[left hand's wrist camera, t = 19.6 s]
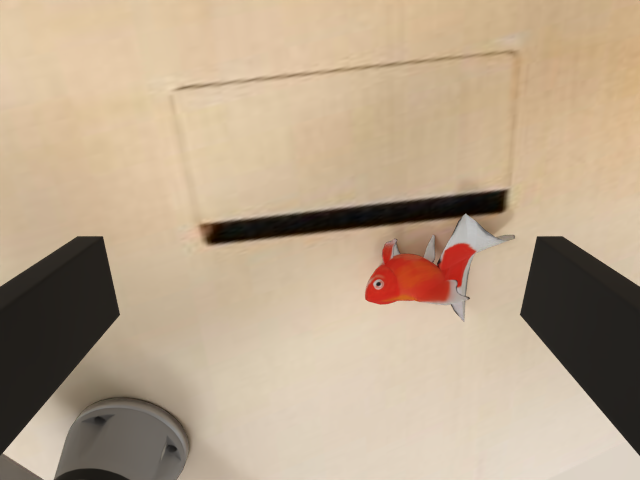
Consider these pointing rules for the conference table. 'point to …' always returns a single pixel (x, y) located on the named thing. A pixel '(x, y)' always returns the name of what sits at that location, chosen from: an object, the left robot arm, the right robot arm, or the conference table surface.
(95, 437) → the left robot arm
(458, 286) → the fish
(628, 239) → the conference table surface
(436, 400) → the conference table surface
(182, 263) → the conference table surface
